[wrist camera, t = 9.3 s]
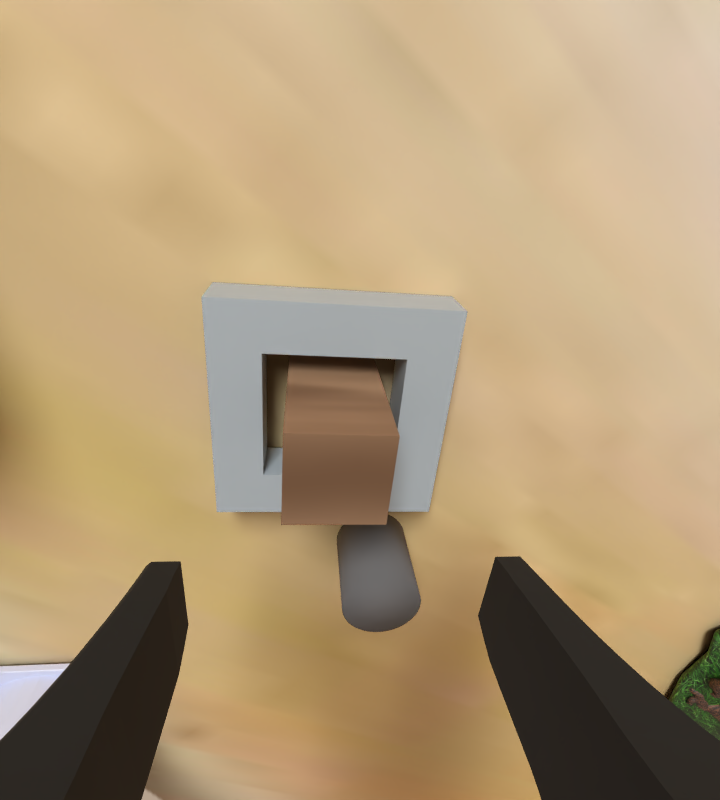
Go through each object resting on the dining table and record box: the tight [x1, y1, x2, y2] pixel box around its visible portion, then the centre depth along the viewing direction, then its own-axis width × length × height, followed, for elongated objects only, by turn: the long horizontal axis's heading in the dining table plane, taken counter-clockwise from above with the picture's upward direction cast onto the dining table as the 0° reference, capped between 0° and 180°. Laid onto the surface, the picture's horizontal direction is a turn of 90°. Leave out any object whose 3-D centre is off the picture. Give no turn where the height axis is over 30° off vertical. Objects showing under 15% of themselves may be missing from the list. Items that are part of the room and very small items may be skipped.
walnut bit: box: [281, 355, 400, 525], centre depth 17 cm, size 3×3×6 cm
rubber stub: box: [337, 515, 421, 632], centre depth 22 cm, size 3×3×4 cm
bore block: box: [202, 282, 467, 512], centre depth 19 cm, size 9×9×2 cm
